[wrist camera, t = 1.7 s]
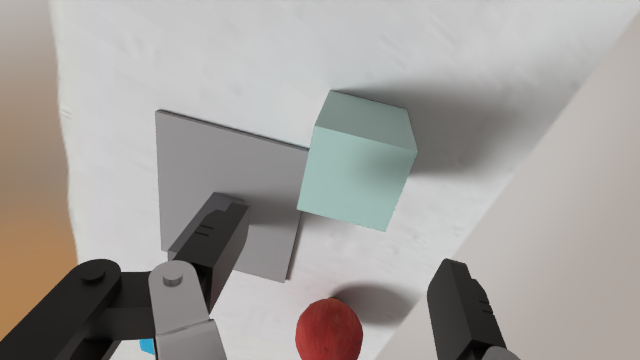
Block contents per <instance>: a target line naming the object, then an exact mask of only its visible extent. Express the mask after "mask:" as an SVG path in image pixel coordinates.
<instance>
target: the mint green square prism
mask: <svg viewBox="0 0 640 360" xmlns="http://www.w3.org/2000/svg"><path fill="white" fill-rule="evenodd" d="M417 153H418V150H417V146H416V142H415V139H414V135H413V131H412V128H411V124H410V121H409V117H408V113H407V110H406V109H403V108H399V107H395V106H391V105H387V104H383V103H379V102H375V101H371V100H367V99H363V98H359V97H355V96H351V95H347V94H343V93H339V92H335V91H331V90H330V91H329V93H328V96H327V98H326V100H325V102H324V105H323V107H322V109H321V112H320V114H319V116H318V119H317V121H316V123H315V126H314V130H313V135H312V139H311V144H310V149H309V154H308V158H307V163H306V168H305V172H304V177H303V182H302V186H301V191H300V196H299V200H298V205H297V210H301V211H305V212H309V213H313V214H317V215H321V216H324V217H328V218H332V219H336V220H340V221H344V222H348V223H352V224H356V225H360V226H363V227H367V228H371V229H375V230H379V231H383V232H386V229H387V227H388V224H389V222H390V219H391V217H392V214H393V212H394V210H395V207H396V205H397V202H398V200H399V197H400V195H401V192H402V190H403V187H404V185H405V183H406V180H407V178H408V175H409V173H410V170H411V168H412V165H413V163H414V160H415V158H416V156H417Z"/></svg>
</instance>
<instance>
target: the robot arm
mask: <svg viewBox="0 0 640 360" xmlns="http://www.w3.org/2000/svg"><path fill="white" fill-rule="evenodd" d="M250 215H251V205H248V204H244V203H240V202H237V201H232V202H231V204H230V205H229V207H228V208H227V210H226V211H221V210H218V209H216V210H215V211H213V212H211V213H209V214H208V215H206V216H205V217H204V219H203V220H202V221H201V223H200V224H199V226H198V227H197V228H196V229H195V231H194V233H192V235H191V236H190V237H189V239H188V240H187V241H186V243H185V244H184V245H183V246H182V248H181V249H180V250H179V252H178V253H177V254H176V256H175V257H174V258H173V260H172V261H168V262H164V263H162V264H160V265H158V266H157V267H155V268H154V269H153V270H152V271H148V272H121V269H120V267H119V265H118V264H117V263H115V262H114V261H111V260H107V259H95V260H90V261H87V262H84V263H82V264H80V265H78V266H76V267H75V268H73V269H72V270H71V271H70V272H69V273H68V274H67V275H66V276H65V277H64V278H63V279H62V280H61V281H60V282H59V283H58V284H57V285H56V286H55V287H54V288H53V289H52V290H51V291H50V292H49V293H48V294H47V295H46V296H45V297H44V298H43V299H42V300H41V301H40V302H39V303H38V304H37V305H36V306H35V307H34V308H33V309H32V310H31V311H30V312H29V313H28V314H27V315H26V316H25V317H24V318H23V319H22V321H20V322H19V323H18V324H17V326H15V327H14V328H13V329H12V330H11V331H10V332H9V333H8V334H7V335H6V336H5V337H4V338H3V340H2V341H1V342H0V360H109V359H110V358H111V356H112V355H113V353H114V352H115V350H116V349H117V347H118V346H119V344H120V342H121V341H122V340H138V339H152V340H153V348H154V355H155V360H227V357H226V354H225V351H224V348H223V344H222V341H221V338H220V334H219V331H218V328H217V325H216V322H215V321H214V319H210V317H209V315H210V313H211V311H212V309H213V307H214V305H215V303H216V301H217V299H218V297H219V295H220V293H221V291H222V289H223V287H224V285H225V283H226V281H227V280H228V278H229V276H230V274H231V272H232V270H233V268H234V266H235V264H236V262H237V260H238V258H239V256H240V254H241V252H242V250H243V248H244V246H245V243H246V240H247V235H248V229H249V222H250ZM427 302H428V307H429V313H430V318H431V324H432V329H433V335H434V340H435V346H436V351H437V357H438V360H520V359H519V358H518V357H517V356H516V355H515V354H513V353H512V352H510V351H508V350H507V348H506V345H505V342H504V340H503V337H502V335H501V332H500V329H499V326H498V324H497V321H496V319H495V316H494V315H493V311H492V308H491V306H490V305H489V300H488V298H487V295H486V292H485V291H484V289H483V288H482V287H481V285H480V284H479V283H478V282H477V280H475V279H472V278H471V276H470V273H469V271H468V268H467V266H466V264H465V263H461V262H458V261H454V260H451V259H447V258H446V259H444V260H443V261H442V263H441V265H440V266H439V268H438V270H437V272H436V274H435V275H434V277H433V279H432V281H431V282H430V284H429V287H428V291H427Z"/></svg>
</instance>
